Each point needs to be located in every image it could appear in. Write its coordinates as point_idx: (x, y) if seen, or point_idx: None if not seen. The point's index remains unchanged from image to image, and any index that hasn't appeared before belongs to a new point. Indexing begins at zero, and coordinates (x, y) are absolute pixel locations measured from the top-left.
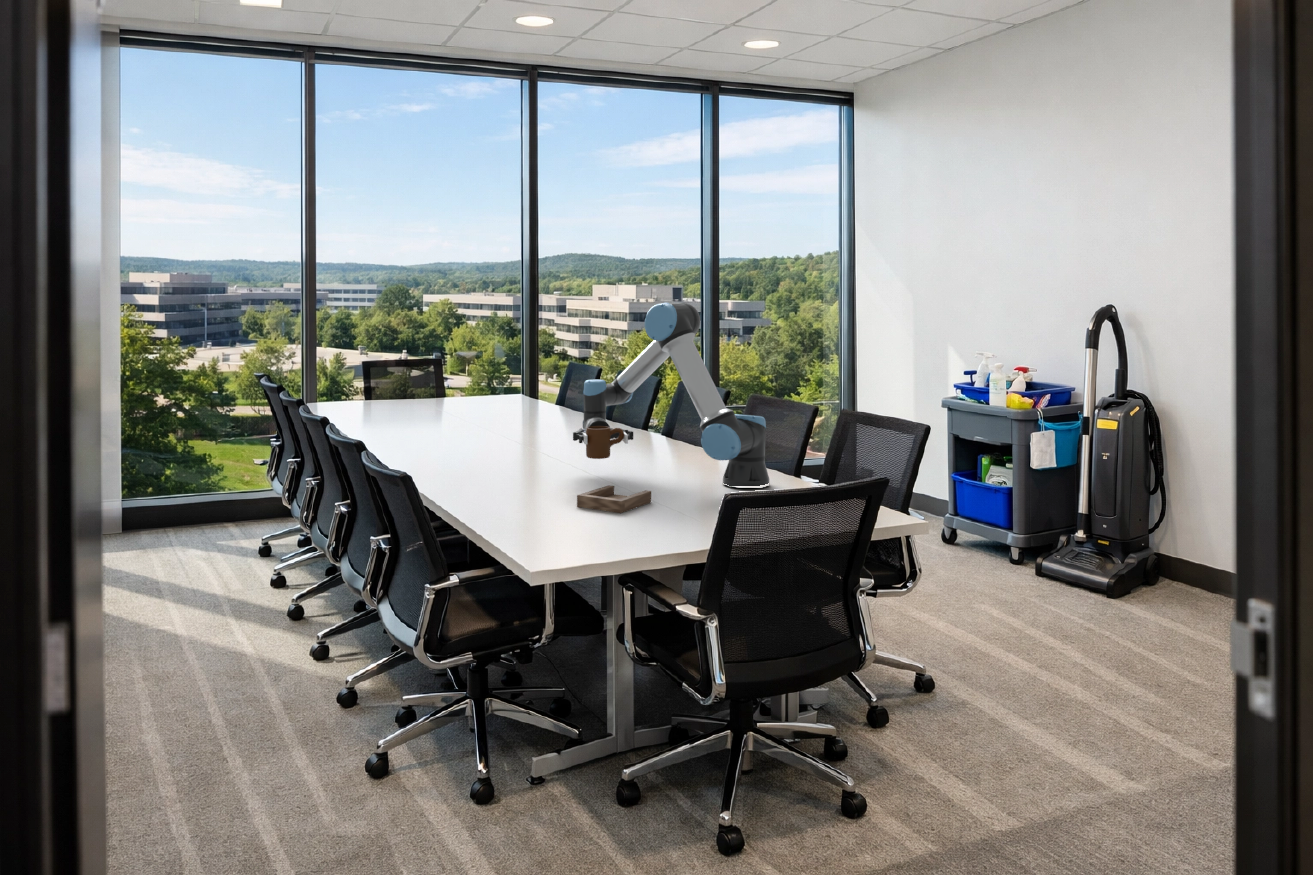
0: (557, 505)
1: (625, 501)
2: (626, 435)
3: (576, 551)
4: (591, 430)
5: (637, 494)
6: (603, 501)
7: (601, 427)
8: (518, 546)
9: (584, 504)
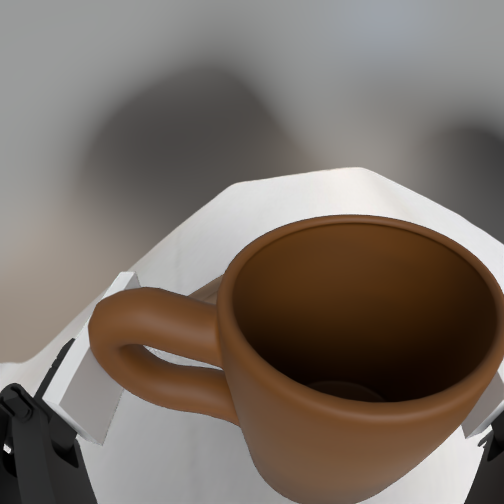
0: None
1: None
2: (130, 274)
3: (338, 180)
4: (415, 237)
5: None
6: None
7: (329, 411)
8: (392, 187)
9: None
